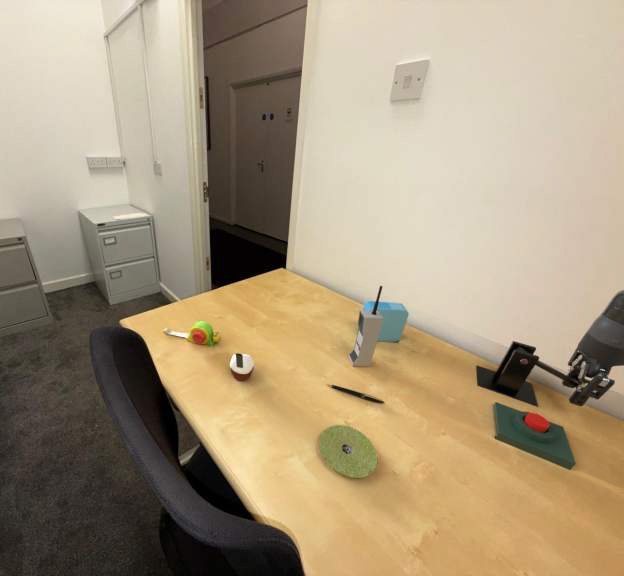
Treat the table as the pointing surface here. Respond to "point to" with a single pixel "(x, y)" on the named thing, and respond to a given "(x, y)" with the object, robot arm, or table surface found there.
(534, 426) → the button
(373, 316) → the vintage mobile phone
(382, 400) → the fountain pen
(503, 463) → the table surface
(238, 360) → the cupcake
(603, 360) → the robot arm
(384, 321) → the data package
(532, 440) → the control block
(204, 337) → the toy measuring tape
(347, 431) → the green grinding wheel
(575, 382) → the switch lever
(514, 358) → the switch bracket
